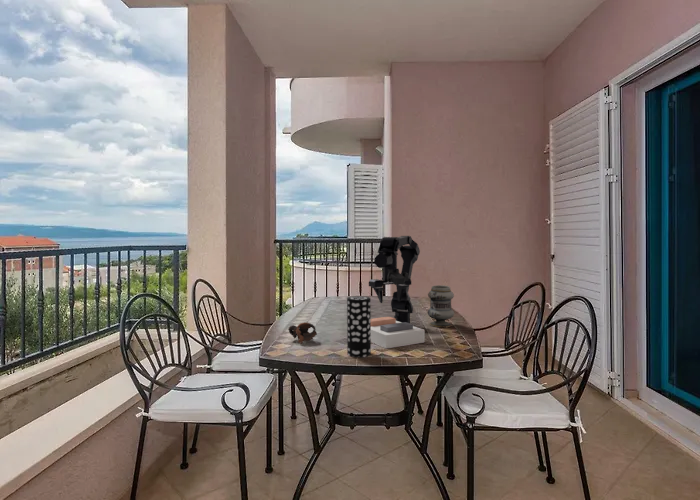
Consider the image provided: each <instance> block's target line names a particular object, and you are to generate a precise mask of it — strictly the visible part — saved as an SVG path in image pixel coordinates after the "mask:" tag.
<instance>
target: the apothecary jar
mask: <svg viewBox="0 0 700 500" xmlns="http://www.w3.org/2000/svg"><path fill="white" fill-rule="evenodd" d="M427 296H428V299H430V307H429V309H427V316H429V318H431V319H432V320H433V321H432V322H430V323H429V325H430V326H432V327H436V328H449V327H452V324H451V323H450V322H448V321H447V320H450V319H451V318H453V317H454V315H455V311H454V310H453V309H452V300H453V298H454V297H455V293H454V292H453V291H452V289H451V286H449V285H443V284H441V285H433V286H431V289H430V290H429V291H428V292H427Z"/></svg>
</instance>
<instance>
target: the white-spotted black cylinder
mask: <svg viewBox="0 0 700 500" xmlns="http://www.w3.org/2000/svg"><path fill="white" fill-rule="evenodd" d="M371 303H372V302H371V297H369V296H359V295H358V296H356V295H355V296H354V295H353V296H349V297H347V298H346V304H347V305H346V314H347V315H346V316H347V317H346V321H347V322H346V324H347V325H346V327H347V329H346V331H347V333H346V334H347V335H346V337H347V339H346V342H347V344H346V345H347V346H346V347H347V355H348V356H349V357H354V358H365V357H369V356H371V354H372V353H371V352H372V350H371V349H372V347H371V344H372V342H371V319H372V317H371V315H372V314H371V312H372V311H371V310H372V309H371V306H372V305H371Z"/></svg>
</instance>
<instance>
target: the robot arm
mask: <svg viewBox="0 0 700 500" xmlns="http://www.w3.org/2000/svg"><path fill="white" fill-rule="evenodd" d="M398 251H399V252H400V256H401V259H402V266H401V272H400V269H399V268H398V255H399V253H398ZM420 252H421V250H420V247H419V245H418V243H417V242H416V241H415V240H414V239H413V238H412V236H410V235H400V236H384V237H382V238H381V241H380V243H379V247H378V250H377V253H378V254H376V255H375V257H374V265H375V266H376V267H377V268H379V269H381V271H382V272H383V277H381V279H377V278H374V279H373V278H372V279H369V281H368V287H371V289H373V290H374V292H375V294H376V297H377V298H378V300H379V303H380V304H383V301H384V299H383V298H384V297H383V295H384V294H383V291H384V289H385V288H384V286H386V285H395V286H396V291H393V293H392V294H393V295H392V299H391V301H390V306H391V311H392V313H394V317H393V318H395V319H396V321H399V322H402V323H403V322H407V323H410V324H411V314H413V312H414V306H413V304H412V300H411V296H410V294H409V289H410V286H411V285H412V279H411V278H412V273H413V267H414V264H415V263H416V262H417V260H418V258H419V255H420Z"/></svg>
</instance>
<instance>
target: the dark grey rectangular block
mask: <svg viewBox="0 0 700 500" xmlns="http://www.w3.org/2000/svg"><path fill="white" fill-rule="evenodd" d="M413 326H414V324H413V323H411V322H410V323H407V322H403V323H395V324H387V325H380V330H381V331H384V332H387V333H388V332H395V331H402V330H410V329H413Z"/></svg>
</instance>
